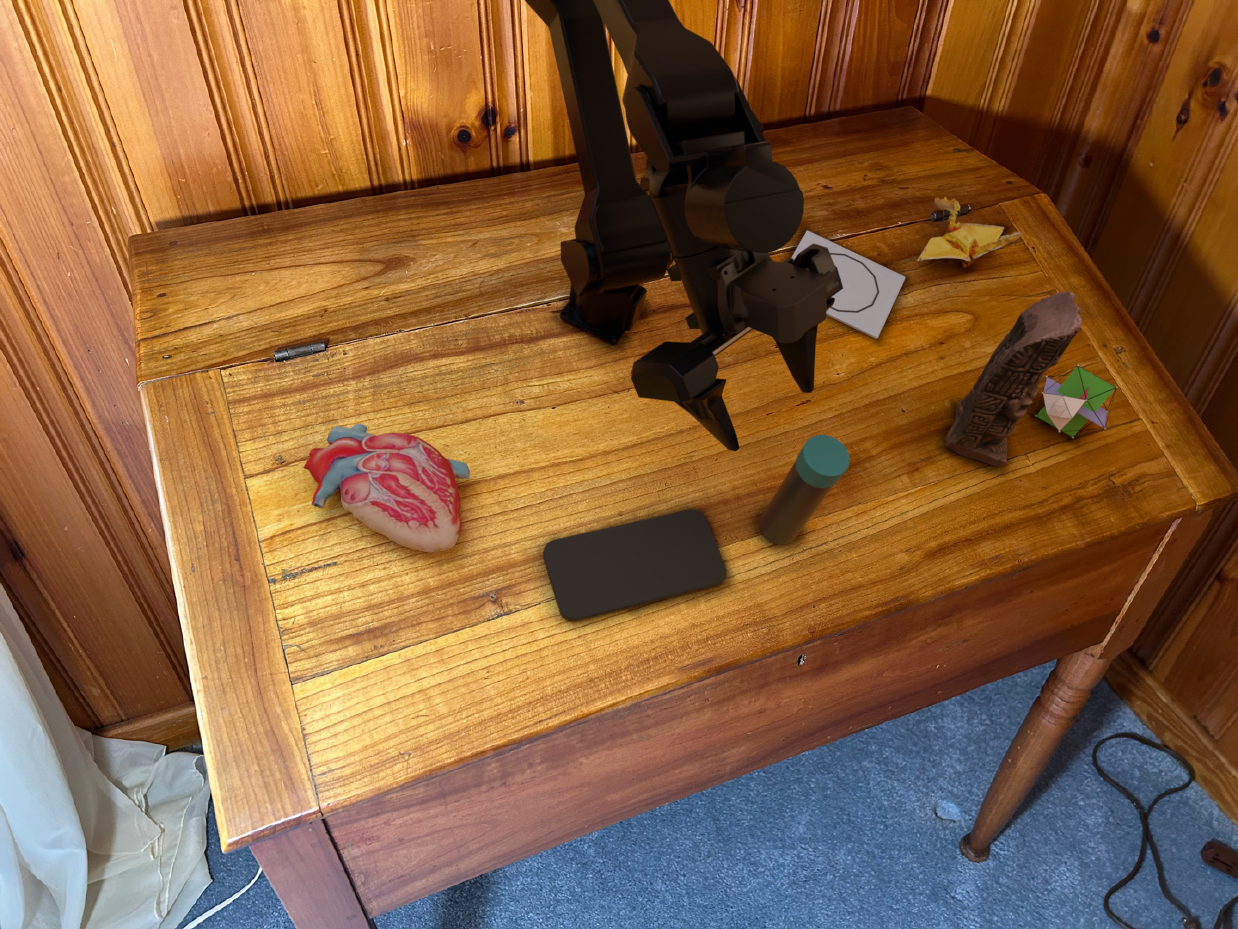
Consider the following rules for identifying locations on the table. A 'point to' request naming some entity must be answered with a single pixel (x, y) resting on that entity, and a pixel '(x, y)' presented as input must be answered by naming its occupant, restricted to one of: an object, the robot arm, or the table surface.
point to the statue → (1013, 378)
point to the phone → (633, 564)
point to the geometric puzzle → (1075, 401)
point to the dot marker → (804, 488)
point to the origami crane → (964, 238)
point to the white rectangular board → (859, 287)
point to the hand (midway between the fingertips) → (772, 420)
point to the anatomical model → (392, 485)
